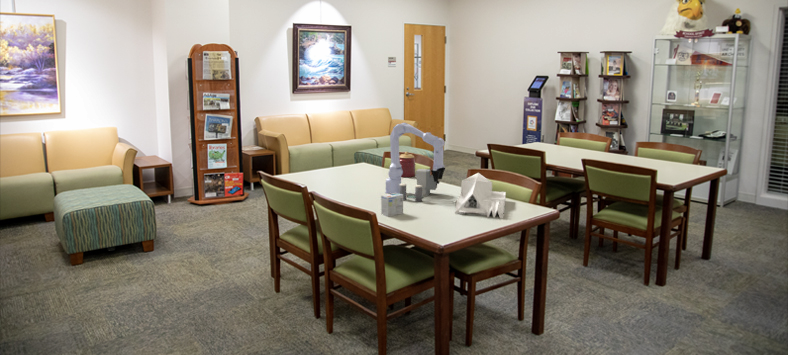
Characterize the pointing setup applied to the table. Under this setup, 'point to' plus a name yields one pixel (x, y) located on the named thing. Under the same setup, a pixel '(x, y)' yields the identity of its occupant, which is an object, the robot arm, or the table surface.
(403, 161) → the canister
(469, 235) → the table surface
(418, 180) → the circuit breaker
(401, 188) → the post left
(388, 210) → the light bulb box
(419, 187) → the post right
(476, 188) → the white faceted model
